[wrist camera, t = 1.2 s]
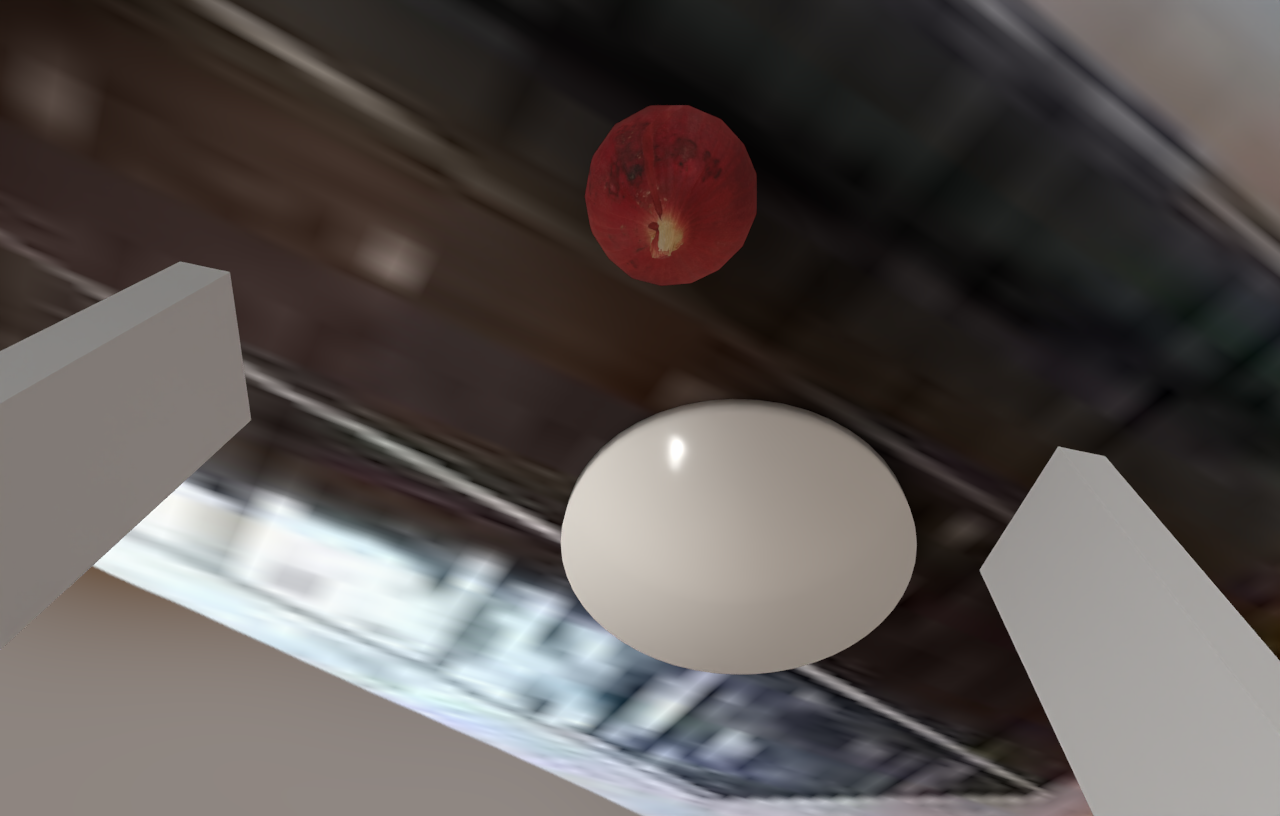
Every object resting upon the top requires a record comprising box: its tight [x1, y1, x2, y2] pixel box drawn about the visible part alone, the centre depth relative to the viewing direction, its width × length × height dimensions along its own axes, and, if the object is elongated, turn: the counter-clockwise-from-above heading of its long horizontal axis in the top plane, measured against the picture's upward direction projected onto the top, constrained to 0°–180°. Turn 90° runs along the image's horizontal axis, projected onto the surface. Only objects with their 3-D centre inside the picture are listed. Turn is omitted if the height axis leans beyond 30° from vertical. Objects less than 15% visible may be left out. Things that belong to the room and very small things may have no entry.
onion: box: [585, 105, 757, 286], centre depth 23 cm, size 6×6×8 cm
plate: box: [561, 399, 917, 674], centre depth 35 cm, size 18×18×1 cm
